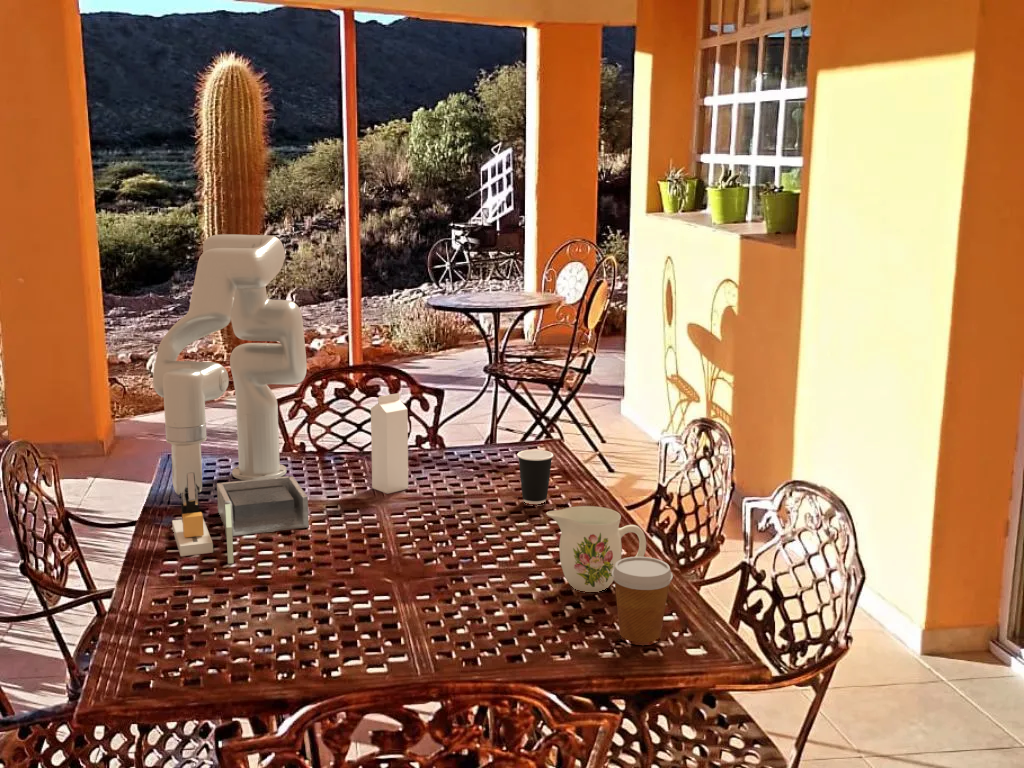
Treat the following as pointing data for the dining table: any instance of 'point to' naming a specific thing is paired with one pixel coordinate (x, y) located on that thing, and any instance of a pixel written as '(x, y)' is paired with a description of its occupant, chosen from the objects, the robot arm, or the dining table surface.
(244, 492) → the grey open tray
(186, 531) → the fader knob
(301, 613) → the dining table surface
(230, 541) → the door
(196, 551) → the fader panel
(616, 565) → the disposable coffee cup
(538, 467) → the dixie cup
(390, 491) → the milk
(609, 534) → the pitcher
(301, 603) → the dining table surface
